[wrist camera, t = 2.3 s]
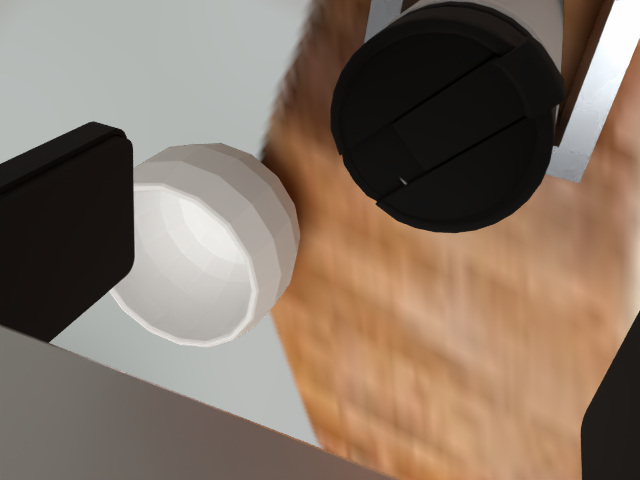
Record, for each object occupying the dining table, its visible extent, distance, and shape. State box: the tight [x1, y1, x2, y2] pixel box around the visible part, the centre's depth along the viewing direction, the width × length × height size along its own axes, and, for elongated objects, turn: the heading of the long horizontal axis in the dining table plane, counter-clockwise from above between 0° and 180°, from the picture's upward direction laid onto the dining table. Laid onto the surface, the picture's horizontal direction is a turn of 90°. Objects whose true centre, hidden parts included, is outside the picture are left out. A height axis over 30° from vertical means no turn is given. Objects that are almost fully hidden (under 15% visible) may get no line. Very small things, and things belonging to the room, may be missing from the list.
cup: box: [109, 143, 300, 347], centre depth 40 cm, size 12×12×10 cm
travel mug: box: [330, 0, 566, 233], centre depth 24 cm, size 6×7×20 cm
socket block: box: [364, 0, 640, 183], centre depth 30 cm, size 12×12×5 cm
